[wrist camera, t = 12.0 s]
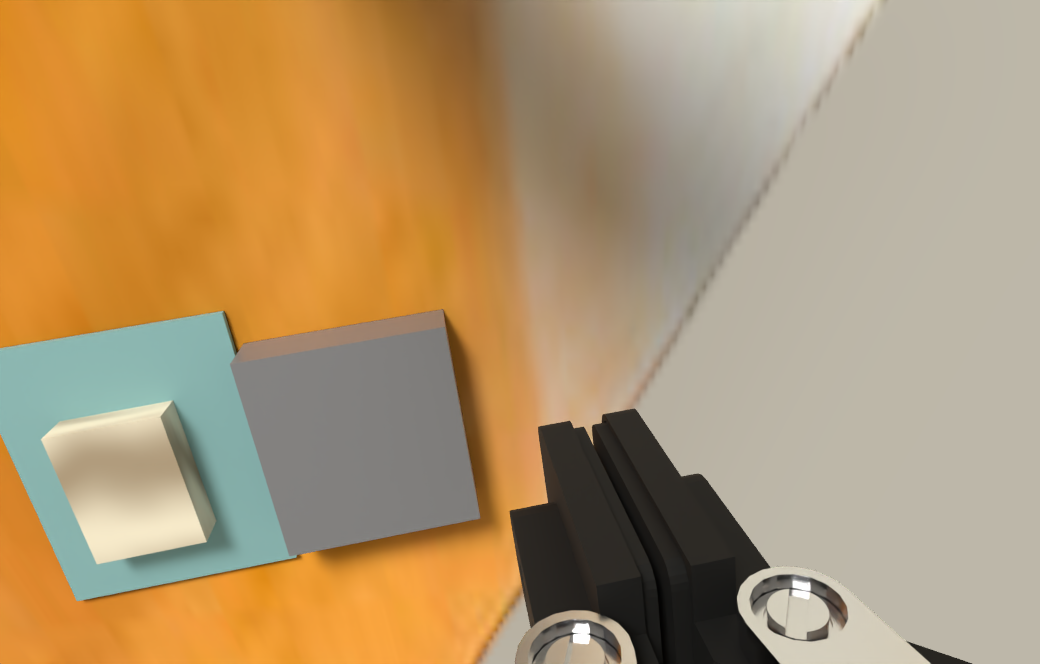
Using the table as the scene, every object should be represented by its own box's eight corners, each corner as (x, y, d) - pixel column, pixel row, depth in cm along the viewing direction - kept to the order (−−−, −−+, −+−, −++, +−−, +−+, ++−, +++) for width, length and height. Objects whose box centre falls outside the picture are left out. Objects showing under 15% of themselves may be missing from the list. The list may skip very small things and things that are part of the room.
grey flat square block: (243, 343, 38) (229, 364, 35) (442, 309, 39) (445, 326, 36) (298, 525, 42) (289, 556, 39) (476, 490, 43) (480, 518, 40)
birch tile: (160, 416, 36) (172, 400, 38) (40, 439, 35) (59, 421, 37) (206, 542, 39) (216, 521, 41) (96, 564, 38) (111, 541, 40)
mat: (-31, 353, 36) (-36, 356, 35) (224, 310, 37) (222, 313, 36) (80, 596, 41) (77, 601, 41) (297, 553, 42) (296, 557, 42)
